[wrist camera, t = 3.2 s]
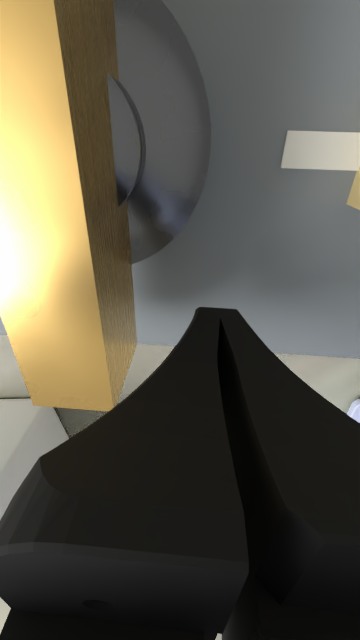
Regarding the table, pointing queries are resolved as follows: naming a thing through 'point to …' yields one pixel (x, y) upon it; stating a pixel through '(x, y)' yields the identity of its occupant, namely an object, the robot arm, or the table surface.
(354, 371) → the table surface
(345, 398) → the table surface
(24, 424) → the medicine bottle
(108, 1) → the long golden bar
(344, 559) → the robot arm
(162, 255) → the base
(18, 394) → the table surface
